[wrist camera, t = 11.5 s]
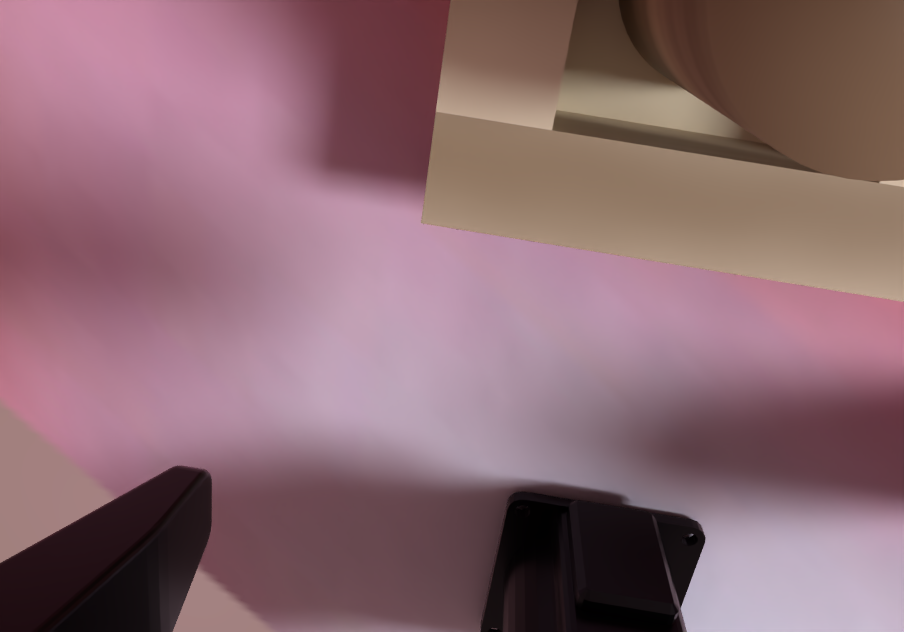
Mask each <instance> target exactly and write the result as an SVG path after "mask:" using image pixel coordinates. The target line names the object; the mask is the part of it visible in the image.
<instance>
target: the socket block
mask: <svg viewBox="0 0 904 632" xmlns="http://www.w3.org/2000/svg"><path fill="white" fill-rule="evenodd" d="M421 223H423V224H429V225H435V226H441V227H447V228H454V229H460V230H466V231H472V232H478V233H484V234H490V235H497V236H503V237H509V238H515V239H521V240H527V241H533V242H540V243H546V244H552V245H558V246H564V247H570V248H576V249H583V250H589V251H595V252H601V253H607V254H613V255H619V256H626V257H632V258H638V259H644V260H650V261H656V262H662V263H669V264H675V265H681V266H687V267H693V268H699V269H705V270H712V271H718V272H724V273H730V274H736V275H742V276H748V277H755V278H761V279H767V280H773V281H779V282H785V283H791V284H798V285H804V286H810V287H816V288H822V289H828V290H834V291H841V292H847V293H853V294H859V295H865V296H871V297H877V298H884V299H890V300H896V301H902V302H904V180H899V181H865V180H854V179H846V178H842V177H837V176H833V175H829V174H825V173H822V172H819V171H817V170H814V169H811V168H809V167H806V166H804V165H801V164H799V163H798V162H796V161H794V160H792V159H791V158H789V157H787V156H785V155H783V154H782V153H780V152H779V151H777V150H775V149H774V148H772V147H771V146H769V145H768V144H766V143H765V142H763V141H762V140H760V139H759V138H757V137H756V136H754V135H753V134H751V133H750V132H748V131H747V130H745V129H744V128H742V127H741V126H739V125H738V124H736V123H735V122H733V121H732V120H730V119H728V118H727V117H725V116H724V115H722V114H721V113H719V112H718V111H716V110H715V109H713V108H712V107H710V106H709V105H707V104H706V103H704V102H703V101H701V100H700V99H698V98H697V97H695V96H694V95H692V94H691V93H689V92H688V91H686V90H684V89H683V88H681V87H680V86H678V85H677V84H675V83H674V82H672V81H671V80H669V79H668V78H666V77H665V76H663V75H662V74H660V73H659V72H658V71H656V70H655V69H654V68H653V67H651V66H650V65H649V64H648V63H647V62H646V61H645V60H644V59H643V58H642V56H641V55H640V54H639V52H638V51H637V50H636V48H635V47H634V45H633V44H632V42H631V40H630V38H629V36H628V34H627V32H626V29H625V26H624V23H623V21H622V17H621V12H620V8H619V0H450V7H449V15H448V23H447V30H446V38H445V45H444V53H443V61H442V68H441V76H440V83H439V91H438V99H437V106H436V114H435V121H434V129H433V137H432V144H431V152H430V159H429V167H428V175H427V182H426V190H425V197H424V205H423V212H422V220H421Z"/></svg>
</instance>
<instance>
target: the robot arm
mask: <svg viewBox="0 0 904 632" xmlns="http://www.w3.org/2000/svg"><path fill="white" fill-rule="evenodd" d="M518 506H526V507H528V509H526V510H519V509H517V508H516V507H518ZM211 522H212V479H211V475H210V473H209V472H208V471H207V470H205V469H199V468H193V467H187V466H175V467H172V468H170V469H168V470H166V471H165V472H163V473H161V474H159V475H158V476H156V477H154V478H152V479H150V480H149V481H147V482H145V483H143V484H141V485H140V486H138V487H136V488H134V489H132V490H131V491H129V492H127V493H125V494H123V495H122V496H120V497H118V498H116V499H114V500H113V501H111V502H109V503H107V504H105V505H104V506H102V507H100V508H98V509H96V510H95V511H93V512H91V513H90V514H88V515H86V516H84V517H82V518H80V519H79V520H77V521H75V522H73V523H71V524H70V525H68V526H66V527H64V528H62V529H61V530H59V531H57V532H55V533H53V534H52V535H50V536H48V537H46V538H45V539H43V540H41V541H39V542H37V543H35V544H34V545H32V546H30V547H28V548H27V549H25V550H23V551H21V552H20V553H18V554H16V555H14V556H12V557H11V558H9V559H7V560H5V561H3V562H2V563H0V632H172V631H173V629H174V626H175V624H176V621H177V619H178V616H179V614H180V611H181V609H182V606H183V603H184V601H185V598H186V596H187V593H188V591H189V588H190V586H191V583H192V581H193V578H194V575H195V573H196V570H197V568H198V565H199V563H200V560H201V558H202V555H203V553H204V550H205V547H206V545H207V542H208V539H209V535H210V531H211ZM686 534H694V535H693V536H691V537H686V538H685V537H683V536H684V535H686ZM704 543H705V535H704V532H703V529H702V527H701V525H700V524H699V523H698V522H697V521H694V520H691V519H685V518H679V517H673V516H667V515H661V514H655V513H650V512H646V511H640V510H634V509H628V508H622V507H616V506H610V505H604V504H598V503H592V502H586V501H580V500H578V501H577V500H571V499H565V498H559V497H553V496H547V495H541V494H535V493H529V492H517V493H514V494H513V495H512V496H510V497H509V499H508V501H507V506H506V510H505V515H504V519H503V524H502V529H501V533H500V538H499V542H498V547H497V551H496V556H495V560H494V565H493V570H492V574H491V579H490V583H489V588H488V592H487V597H486V602H485V606H484V611H483V615H482V620H481V632H687V631H686V627H685V624H684V620H683V616H682V612H681V605H682V603H683V600H684V597H685V595H686V592H687V589H688V587H689V584H690V581H691V578H692V576H693V573H694V570H695V568H696V565H697V562H698V560H699V557H700V554H701V552H702V549H703V546H704ZM491 628H497V629H491Z"/></svg>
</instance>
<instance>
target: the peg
mask: <svg viewBox="0 0 904 632" xmlns="http://www.w3.org/2000/svg"><path fill="white" fill-rule="evenodd" d="M619 8H620V12H621V17H622V21H623V23H624V26H625V29H626V32H627V34H628V36H629V38H630V40H631V42H632V44H633V45H634V47H635V48H636V50H637V51H638V52H639V54H640V55H641V56H642V58H643V59H644V60H645V61H646V62H647V63H648V64H649V65H650V66H651V67H653V68H654V69H655V70H656V71H658V72H659V73H660V74H662V75H663V76H665V77H666V78H668V79H669V80H671V81H672V82H674V83H675V84H677V85H678V86H680V87H681V88H683V89H684V90H686V91H688V92H689V93H691V94H692V95H694V96H695V97H697V98H698V99H700V100H701V101H703V102H704V103H706V104H707V105H709V106H710V107H712V108H713V109H715V110H716V111H718V112H719V113H721V114H722V115H724V116H725V117H727V118H728V119H730V120H732V121H733V122H735V123H736V124H738V125H739V126H741V127H742V128H744V129H745V130H747V131H748V132H750V133H751V134H753V135H754V136H756V137H757V138H759V139H760V140H762V141H763V142H765V143H766V144H768V145H769V146H771V147H772V148H774V149H775V150H777V151H779V152H780V153H782V154H783V155H785V156H787V157H789V158H791V159H792V160H794V161H796V162H798V163H799V164H801V165H804V166H806V167H809V168H811V169H814V170H817V171H819V172H822V173H825V174H829V175H833V176H837V177H842V178H846V179H854V180H865V181H899V180H904V0H619Z"/></svg>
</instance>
